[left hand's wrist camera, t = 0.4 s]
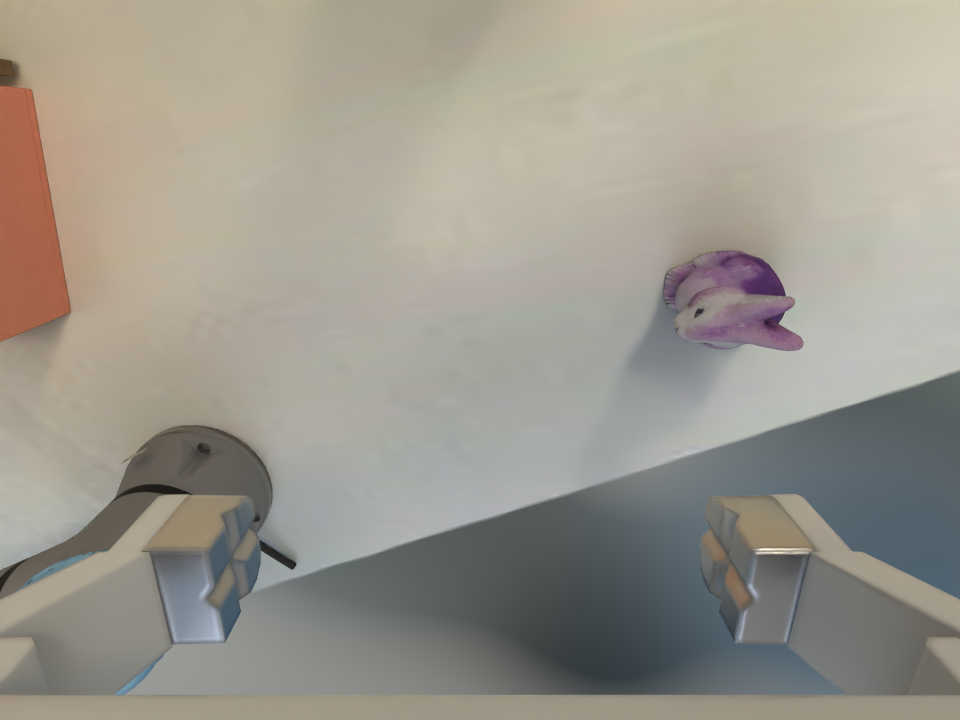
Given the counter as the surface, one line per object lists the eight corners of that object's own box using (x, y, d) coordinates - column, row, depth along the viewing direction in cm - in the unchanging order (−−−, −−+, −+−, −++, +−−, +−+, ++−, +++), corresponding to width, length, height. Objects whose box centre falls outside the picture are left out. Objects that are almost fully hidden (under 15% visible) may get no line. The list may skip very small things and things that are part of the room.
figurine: (636, 293, 58) (687, 342, 44) (722, 220, 55) (805, 247, 41) (693, 359, 60) (758, 425, 46) (778, 292, 58) (874, 340, 44)
